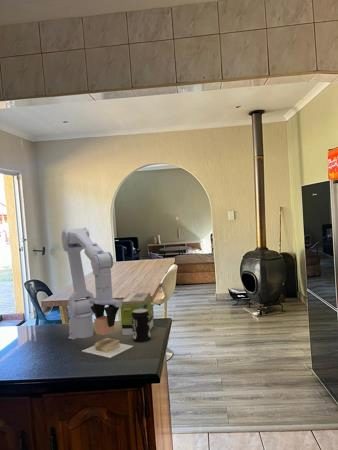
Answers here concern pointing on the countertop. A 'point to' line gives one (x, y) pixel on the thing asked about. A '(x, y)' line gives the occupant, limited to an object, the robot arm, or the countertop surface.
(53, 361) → the countertop surface
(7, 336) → the countertop surface
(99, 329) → the top brick
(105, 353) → the build plate
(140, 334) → the beverage can
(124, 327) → the tea box
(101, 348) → the bottom brick
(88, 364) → the countertop surface
